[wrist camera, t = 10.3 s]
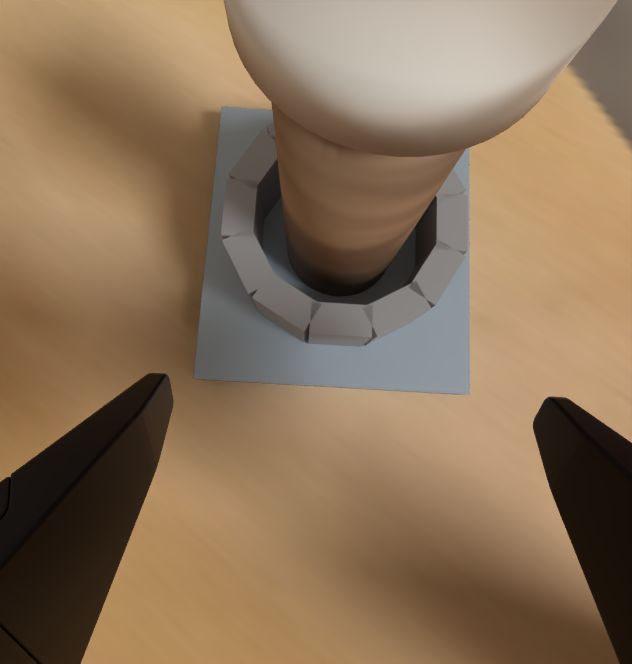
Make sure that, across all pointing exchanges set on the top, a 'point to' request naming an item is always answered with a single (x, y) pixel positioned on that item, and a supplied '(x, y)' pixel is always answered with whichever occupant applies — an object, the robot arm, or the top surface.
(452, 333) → the collar socket
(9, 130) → the top surface
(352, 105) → the walnut peg
